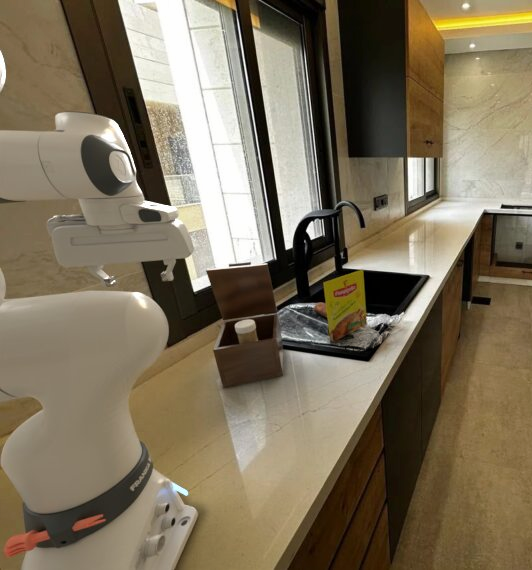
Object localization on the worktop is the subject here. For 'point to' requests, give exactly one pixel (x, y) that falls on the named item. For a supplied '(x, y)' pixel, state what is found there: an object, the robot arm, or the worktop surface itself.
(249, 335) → the sprinkles bottle
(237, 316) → the lid
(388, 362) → the worktop surface
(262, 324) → the chest
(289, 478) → the worktop surface
